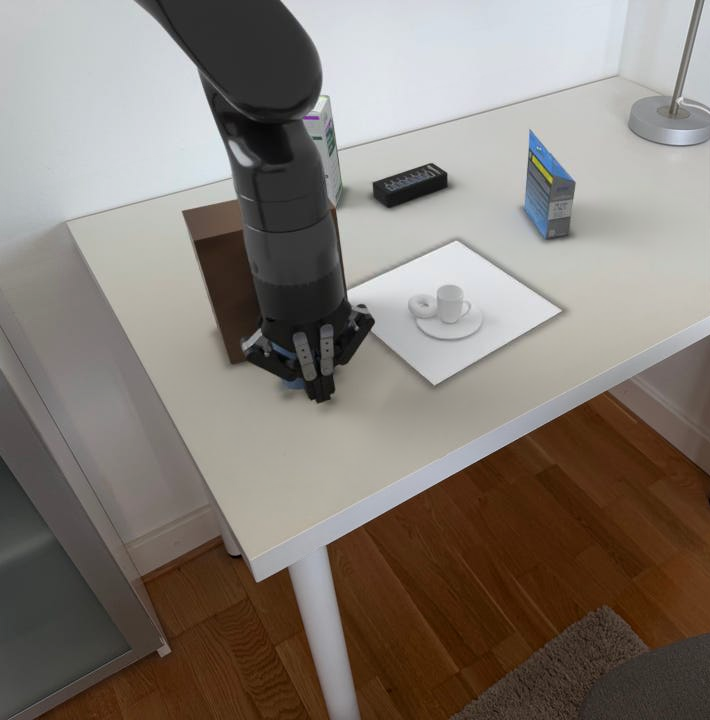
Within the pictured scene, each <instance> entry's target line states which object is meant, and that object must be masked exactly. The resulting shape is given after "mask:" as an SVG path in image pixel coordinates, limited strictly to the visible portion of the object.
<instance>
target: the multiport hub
mask: <svg viewBox="0 0 710 720" xmlns="http://www.w3.org/2000/svg"><path fill="white" fill-rule="evenodd" d="M448 176H449V175H448V172H447V171H446V170H444V169H442V168H441V167H439V166H438V165H437V164H435V163H433V162H428V163H426V164H423V165H420V166H417V167H414V168H411V169H408V170H405V171H402V172H399V173H396V174H393V175H390V176H387V177H384V178H381V179H378V180H375V181H372V194H373V198H374V199H375V200H376V201H378V202H379V203H380V204H382V205H384V207H386V208H387V209H391V208H394V207H397V206H399V205H403V204H405V203H408V202H410V201H414V200H416V199H419V198H422V197H424V196H427V195H430V194H434V193H436V192H439V191H441V190H444V189H447V188H448V187H449V186H448V185H449V183H448V182H449V180H448Z"/></svg>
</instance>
